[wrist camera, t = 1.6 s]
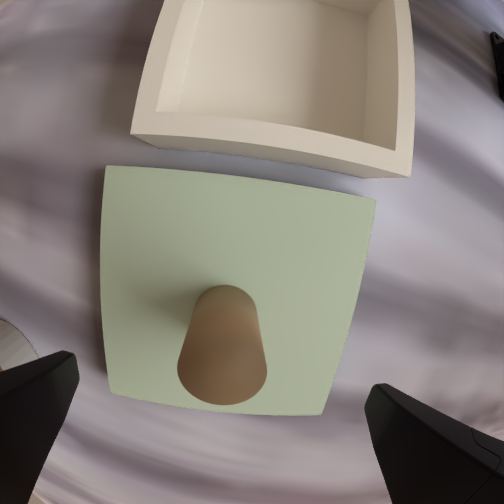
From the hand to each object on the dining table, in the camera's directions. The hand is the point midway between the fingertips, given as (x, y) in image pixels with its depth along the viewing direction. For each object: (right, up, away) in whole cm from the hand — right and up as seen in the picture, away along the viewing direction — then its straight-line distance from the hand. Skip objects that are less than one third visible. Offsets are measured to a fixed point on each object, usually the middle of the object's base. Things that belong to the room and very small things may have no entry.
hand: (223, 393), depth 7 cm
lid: (0, +1, +6) cm, 7 cm away
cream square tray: (+2, +13, +5) cm, 14 cm away
